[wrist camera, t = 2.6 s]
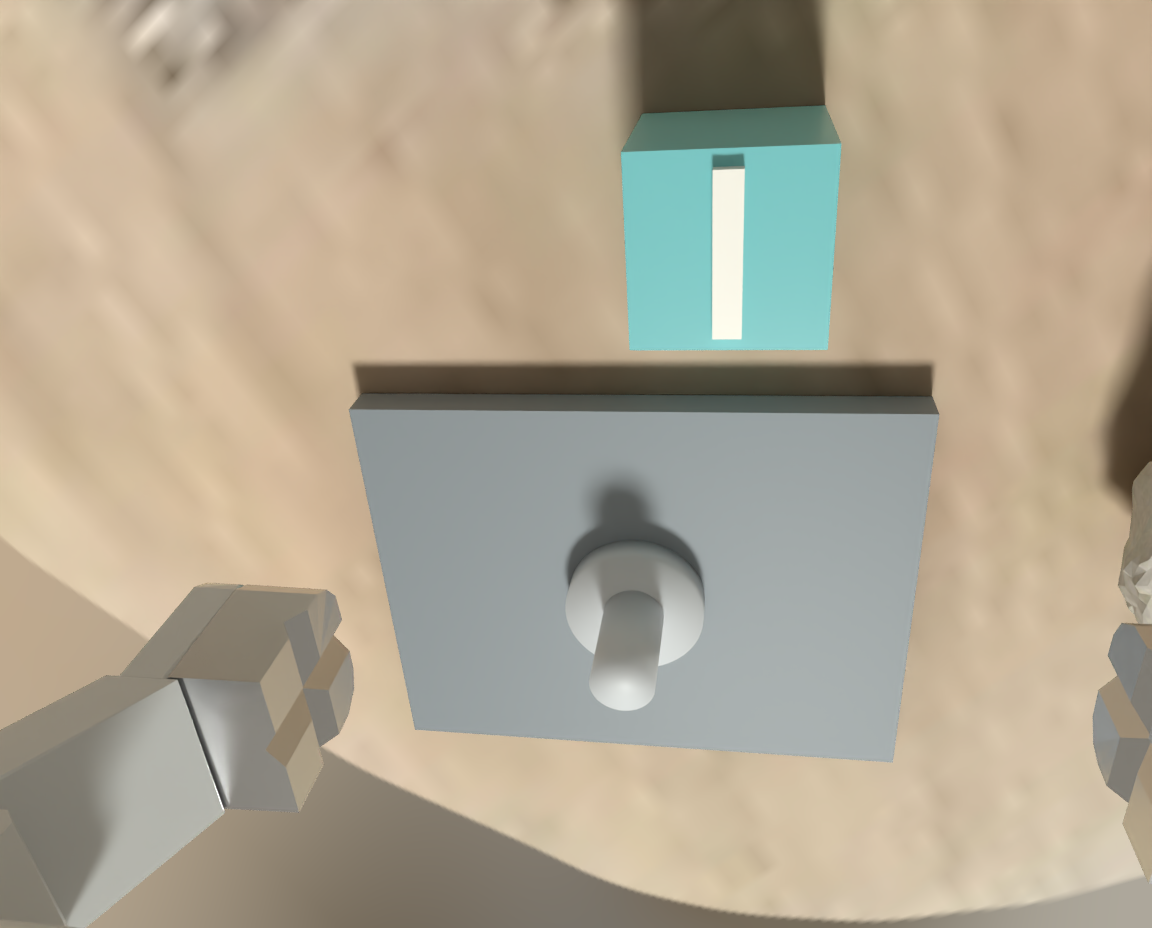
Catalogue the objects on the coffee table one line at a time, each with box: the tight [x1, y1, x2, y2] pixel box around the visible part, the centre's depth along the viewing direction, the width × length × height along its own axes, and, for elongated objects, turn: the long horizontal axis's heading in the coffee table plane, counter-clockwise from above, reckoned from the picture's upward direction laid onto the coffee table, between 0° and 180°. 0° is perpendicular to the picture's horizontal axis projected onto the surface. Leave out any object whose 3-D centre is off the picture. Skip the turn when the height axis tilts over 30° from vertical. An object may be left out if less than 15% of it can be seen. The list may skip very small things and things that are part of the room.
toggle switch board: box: [349, 393, 939, 762], centre depth 31 cm, size 18×14×6 cm
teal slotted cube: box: [621, 105, 841, 350], centre depth 24 cm, size 5×5×5 cm
